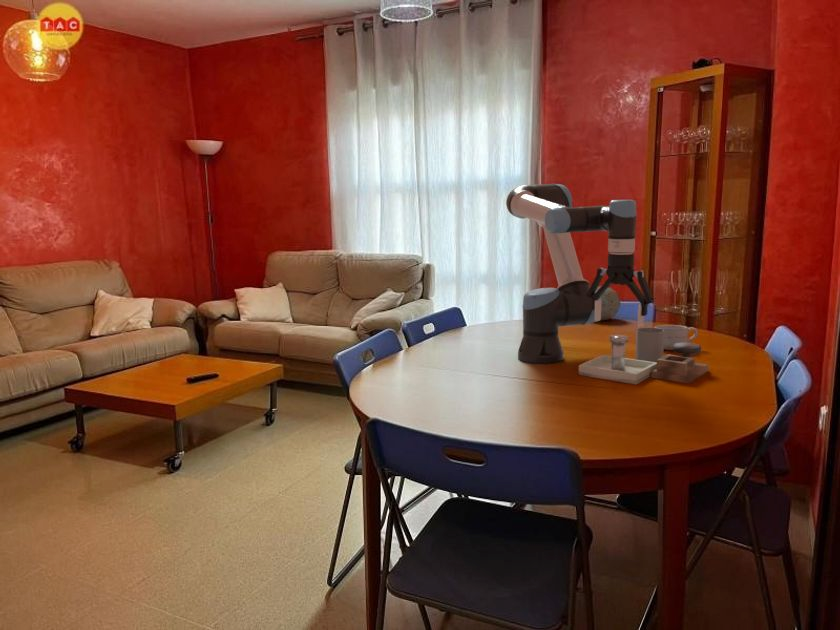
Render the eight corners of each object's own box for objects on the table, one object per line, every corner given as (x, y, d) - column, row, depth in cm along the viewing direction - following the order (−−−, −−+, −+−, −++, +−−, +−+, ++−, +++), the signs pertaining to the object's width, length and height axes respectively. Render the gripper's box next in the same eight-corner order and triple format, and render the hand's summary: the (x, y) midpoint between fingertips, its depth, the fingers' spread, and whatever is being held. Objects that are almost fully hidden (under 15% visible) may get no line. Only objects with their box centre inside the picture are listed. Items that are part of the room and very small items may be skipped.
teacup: (653, 351, 219) (654, 328, 218) (654, 344, 229) (655, 322, 228) (697, 353, 214) (698, 330, 212) (696, 346, 224) (697, 324, 222)
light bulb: (606, 370, 192) (606, 337, 191) (613, 367, 196) (614, 334, 194) (622, 373, 189) (623, 339, 187) (629, 369, 193) (630, 336, 191)
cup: (664, 363, 203) (665, 333, 201) (637, 363, 204) (638, 332, 203) (660, 357, 211) (661, 327, 209) (634, 356, 212) (635, 327, 211)
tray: (578, 374, 193) (578, 365, 192) (602, 363, 205) (602, 354, 204) (636, 384, 181) (636, 374, 180) (658, 372, 193) (658, 362, 192)
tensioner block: (651, 377, 188) (651, 351, 186) (672, 365, 200) (673, 340, 199) (689, 383, 180) (690, 356, 179) (709, 370, 193) (710, 344, 191)
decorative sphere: (585, 323, 271) (586, 288, 269) (582, 316, 286) (583, 283, 283) (622, 323, 269) (623, 288, 266) (617, 316, 283) (618, 283, 281)
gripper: (576, 252, 192) (574, 320, 196) (658, 256, 176) (654, 331, 180) (588, 249, 197) (586, 316, 202) (668, 253, 181) (664, 326, 185)
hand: (618, 323), depth 191 cm, fingers open, 13 cm apart
